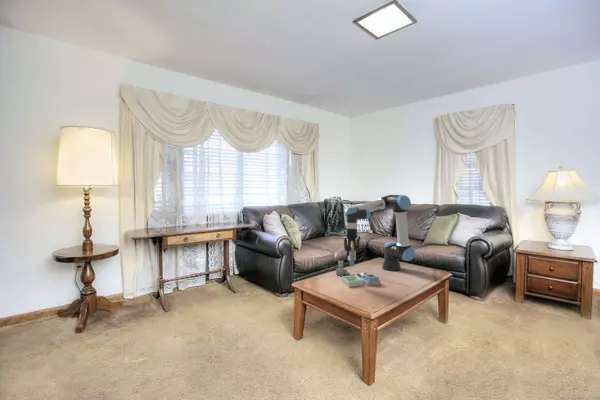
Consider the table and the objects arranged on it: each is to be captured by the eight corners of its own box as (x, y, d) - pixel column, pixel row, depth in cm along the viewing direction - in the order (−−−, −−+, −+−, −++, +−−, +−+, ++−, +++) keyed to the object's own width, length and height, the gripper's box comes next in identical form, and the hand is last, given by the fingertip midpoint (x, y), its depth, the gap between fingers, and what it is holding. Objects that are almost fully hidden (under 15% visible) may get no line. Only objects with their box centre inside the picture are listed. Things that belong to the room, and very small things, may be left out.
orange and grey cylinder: (352, 264, 216) (352, 244, 215) (354, 266, 213) (355, 245, 212) (348, 265, 215) (348, 245, 214) (350, 266, 212) (350, 246, 211)
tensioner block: (355, 278, 225) (355, 271, 225) (367, 277, 229) (367, 270, 229) (367, 285, 209) (367, 278, 209) (380, 284, 213) (380, 276, 213)
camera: (341, 259, 240) (355, 262, 229) (341, 273, 241) (355, 277, 229) (334, 260, 235) (348, 264, 223) (333, 275, 235) (348, 279, 224)
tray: (354, 280, 222) (354, 275, 222) (362, 285, 211) (362, 279, 211) (341, 281, 218) (341, 277, 218) (348, 287, 207) (348, 281, 207)
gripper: (359, 226, 219) (358, 257, 220) (339, 228, 214) (339, 259, 215) (364, 228, 212) (364, 260, 213) (344, 229, 206) (343, 262, 207)
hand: (351, 259), depth 214 cm, fingers closed on orange and grey cylinder, 3 cm apart
